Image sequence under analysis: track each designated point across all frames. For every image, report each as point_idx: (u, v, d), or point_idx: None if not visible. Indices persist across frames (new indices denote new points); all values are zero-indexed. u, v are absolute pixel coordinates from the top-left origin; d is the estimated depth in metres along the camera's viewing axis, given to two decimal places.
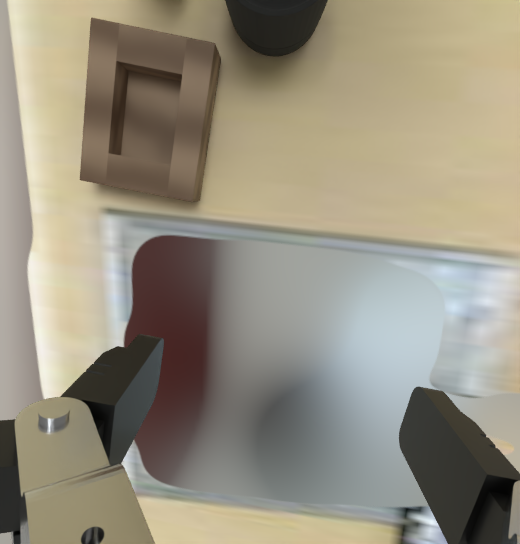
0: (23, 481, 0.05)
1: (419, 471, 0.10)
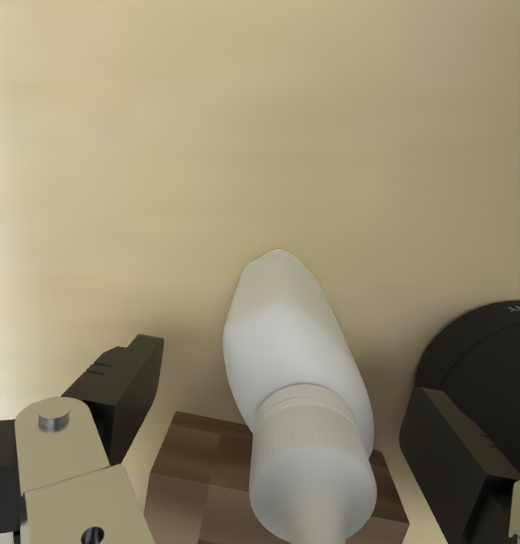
0: (23, 481, 0.05)
1: (419, 471, 0.10)
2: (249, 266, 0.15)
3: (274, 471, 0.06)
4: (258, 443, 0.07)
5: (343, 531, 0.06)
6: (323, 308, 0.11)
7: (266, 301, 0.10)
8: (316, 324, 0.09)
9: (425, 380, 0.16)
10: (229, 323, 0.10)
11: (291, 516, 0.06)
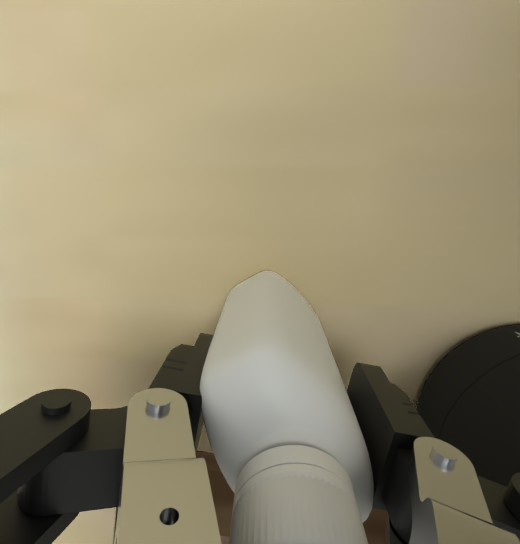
0: (126, 454, 0.06)
1: None
2: (235, 290, 0.14)
3: None
4: (237, 525, 0.06)
5: None
6: (314, 343, 0.10)
7: (248, 341, 0.08)
8: (306, 370, 0.08)
9: (428, 411, 0.15)
10: (207, 367, 0.08)
11: None
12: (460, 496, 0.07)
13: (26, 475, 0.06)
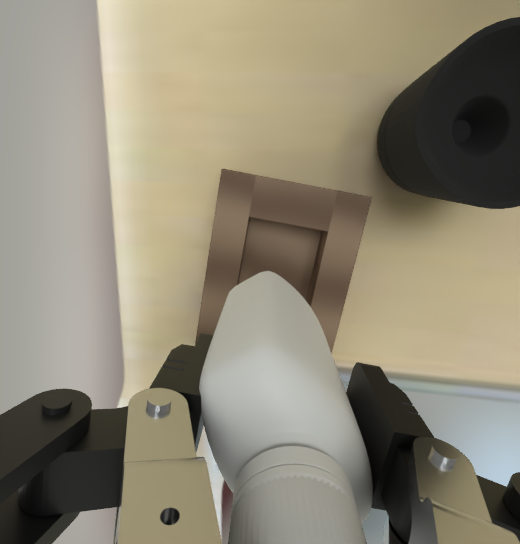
0: (126, 454, 0.06)
1: None
2: (235, 291, 0.14)
3: None
4: (236, 526, 0.06)
5: None
6: (314, 343, 0.10)
7: (248, 342, 0.08)
8: (305, 371, 0.08)
9: (382, 127, 0.27)
10: (207, 368, 0.08)
11: None
12: (460, 496, 0.07)
13: (26, 475, 0.06)
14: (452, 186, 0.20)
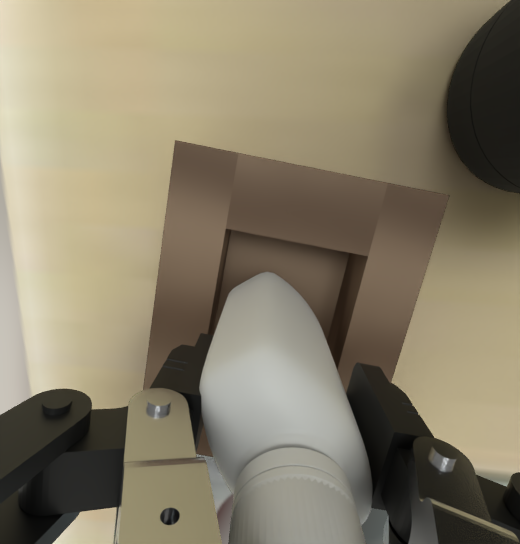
0: (127, 454, 0.06)
1: None
2: (235, 292, 0.14)
3: None
4: (236, 527, 0.06)
5: None
6: (314, 344, 0.10)
7: (248, 344, 0.08)
8: (305, 372, 0.08)
9: (461, 74, 0.16)
10: (207, 369, 0.09)
11: None
12: (460, 496, 0.07)
13: (27, 475, 0.06)
14: None
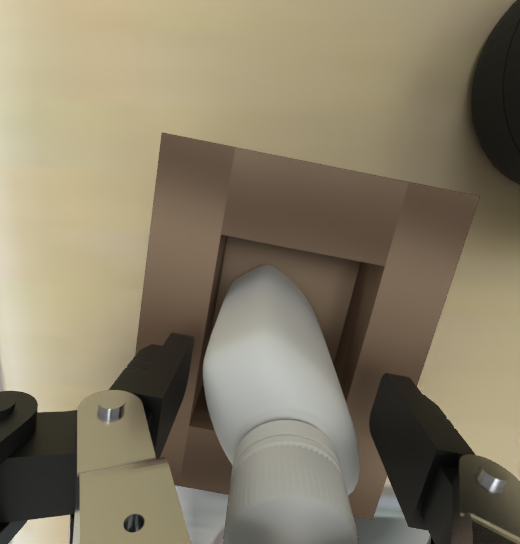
0: (80, 463, 0.06)
1: (384, 452, 0.10)
2: (235, 283, 0.15)
3: (249, 522, 0.06)
4: (235, 486, 0.07)
5: None
6: (309, 332, 0.11)
7: (248, 329, 0.09)
8: (300, 354, 0.09)
9: (490, 57, 0.14)
10: (210, 351, 0.09)
11: None
12: (506, 517, 0.06)
13: None
14: None
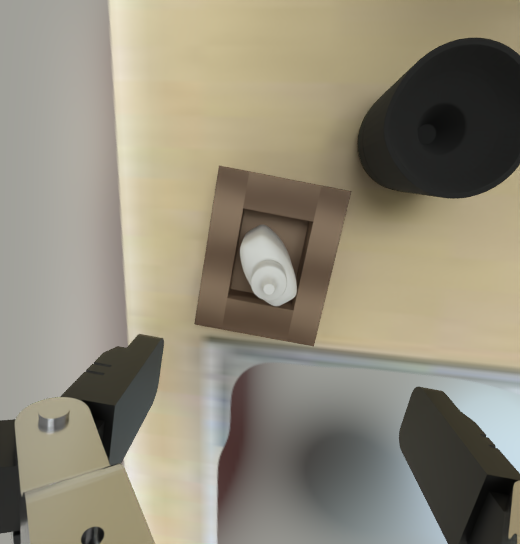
0: (23, 481, 0.05)
1: (419, 471, 0.10)
2: (248, 232, 0.32)
3: (257, 273, 0.23)
4: (253, 272, 0.24)
5: (275, 283, 0.23)
6: (279, 243, 0.28)
7: (255, 235, 0.26)
8: (273, 243, 0.26)
9: (361, 130, 0.31)
10: (242, 244, 0.26)
11: (262, 282, 0.23)
12: None
13: None
14: (415, 179, 0.23)
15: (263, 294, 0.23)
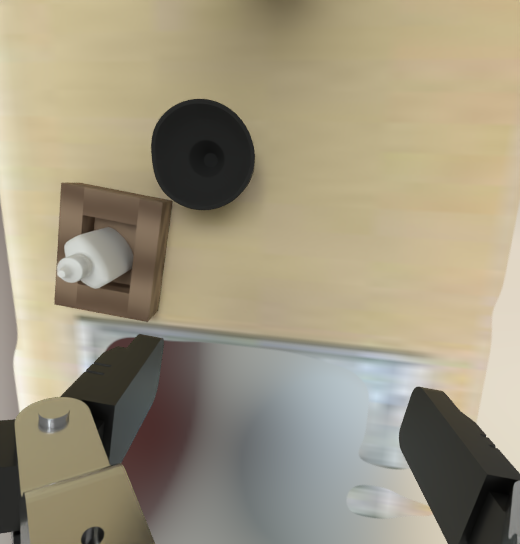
0: (23, 481, 0.05)
1: (419, 471, 0.10)
2: None
3: (60, 263, 0.33)
4: None
5: (69, 270, 0.32)
6: (102, 242, 0.38)
7: (76, 236, 0.36)
8: (87, 241, 0.35)
9: None
10: (66, 242, 0.36)
11: (61, 269, 0.32)
12: None
13: None
14: (174, 196, 0.33)
15: (65, 278, 0.33)
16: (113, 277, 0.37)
